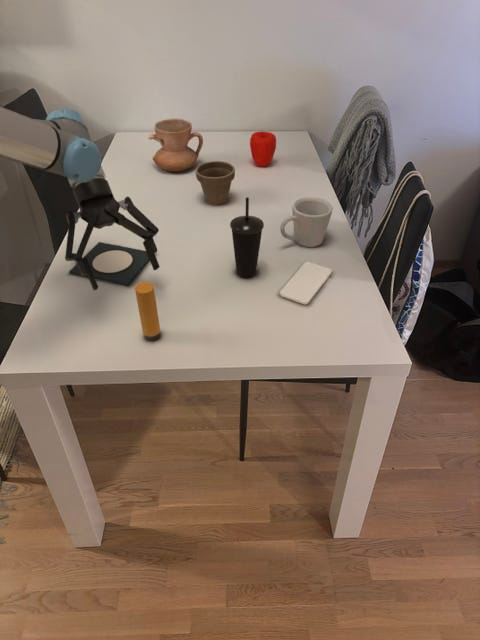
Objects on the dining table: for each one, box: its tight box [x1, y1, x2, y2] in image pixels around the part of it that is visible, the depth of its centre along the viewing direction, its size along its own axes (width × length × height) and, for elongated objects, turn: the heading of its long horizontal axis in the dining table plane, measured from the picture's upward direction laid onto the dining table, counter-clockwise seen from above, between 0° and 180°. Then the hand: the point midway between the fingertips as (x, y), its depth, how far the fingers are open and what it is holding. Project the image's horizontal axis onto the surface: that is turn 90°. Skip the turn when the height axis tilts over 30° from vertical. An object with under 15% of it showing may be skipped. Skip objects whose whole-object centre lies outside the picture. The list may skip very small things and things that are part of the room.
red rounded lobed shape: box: [249, 131, 277, 168], centre depth 162 cm, size 9×9×11 cm
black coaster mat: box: [69, 241, 150, 287], centre depth 120 cm, size 16×14×1 cm
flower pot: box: [194, 160, 236, 206], centre depth 142 cm, size 12×11×10 cm
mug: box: [279, 196, 334, 248], centre depth 124 cm, size 10×15×10 cm
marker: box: [134, 281, 161, 341], centre depth 96 cm, size 4×4×13 cm
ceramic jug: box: [147, 118, 204, 172], centre depth 159 cm, size 18×14×14 cm
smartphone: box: [279, 261, 333, 306], centre depth 113 cm, size 7×1×15 cm
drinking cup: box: [229, 197, 265, 279], centre depth 111 cm, size 8×8×20 cm
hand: (127, 278), depth 100 cm, fingers open, 13 cm apart
